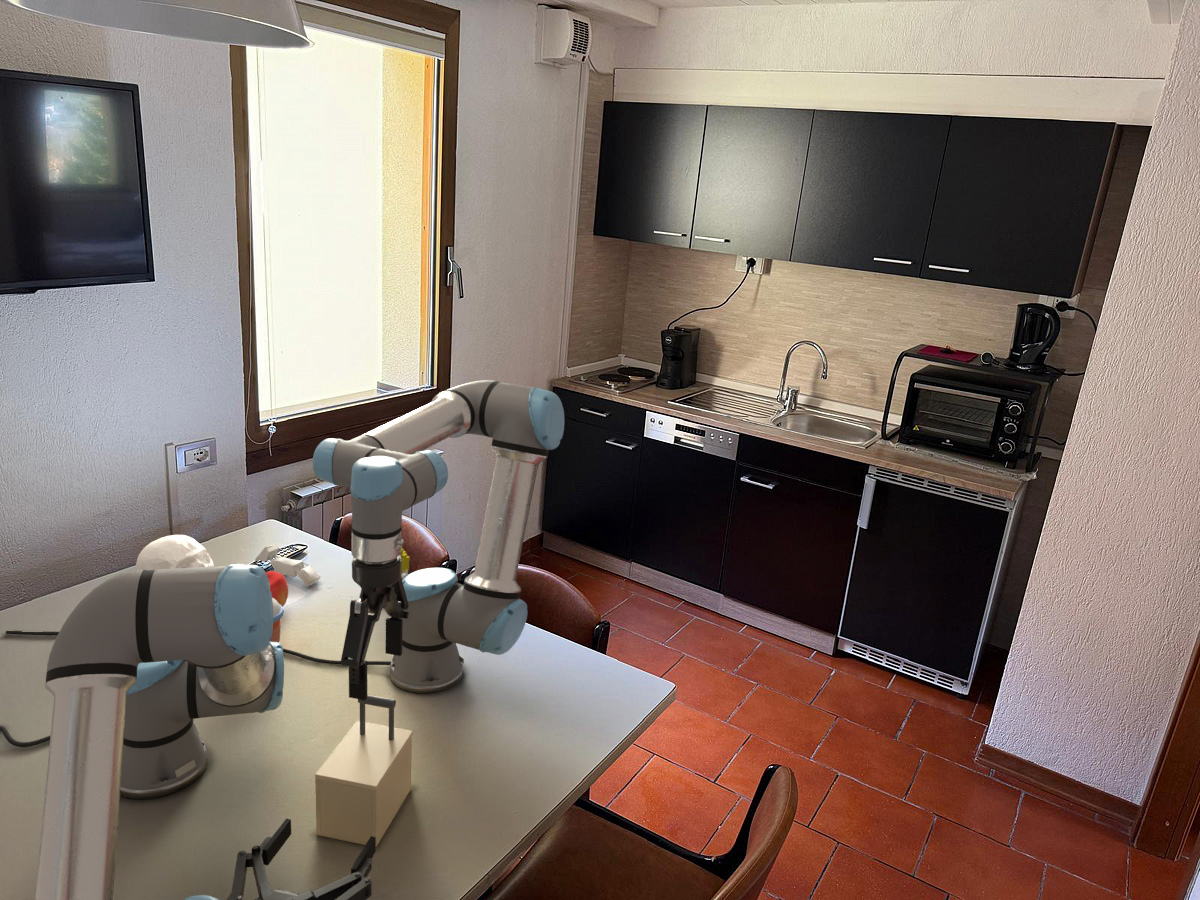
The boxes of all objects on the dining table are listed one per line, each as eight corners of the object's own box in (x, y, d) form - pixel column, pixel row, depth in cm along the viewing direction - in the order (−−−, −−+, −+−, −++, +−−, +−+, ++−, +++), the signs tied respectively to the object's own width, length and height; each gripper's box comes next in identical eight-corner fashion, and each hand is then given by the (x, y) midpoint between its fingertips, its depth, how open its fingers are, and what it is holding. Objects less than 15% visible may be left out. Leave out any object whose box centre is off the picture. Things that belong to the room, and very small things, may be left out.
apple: (273, 600, 207) (272, 562, 204) (297, 613, 202) (296, 575, 199) (237, 614, 200) (234, 575, 197) (261, 628, 194) (259, 588, 191)
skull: (201, 621, 195) (199, 557, 191) (123, 601, 201) (119, 539, 197) (241, 598, 208) (239, 537, 203) (167, 580, 213) (163, 521, 209)
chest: (356, 778, 150) (355, 726, 147) (411, 789, 148) (411, 736, 145) (316, 835, 136) (315, 778, 133) (376, 847, 135) (376, 791, 132)
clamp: (253, 565, 223) (254, 542, 221) (265, 560, 226) (266, 537, 224) (309, 593, 215) (310, 569, 213) (320, 588, 218) (321, 564, 216)
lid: (357, 724, 147) (356, 681, 145) (413, 734, 145) (413, 691, 143) (315, 778, 133) (313, 732, 131) (376, 790, 132) (376, 744, 129)
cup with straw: (270, 669, 179) (266, 592, 174) (230, 662, 181) (226, 585, 175) (293, 648, 188) (291, 573, 182) (255, 641, 189) (252, 567, 184)
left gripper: (163, 954, 111) (255, 839, 131) (342, 997, 107) (408, 872, 127) (159, 908, 109) (253, 798, 129) (341, 951, 105) (409, 830, 125)
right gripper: (364, 594, 121) (364, 722, 127) (429, 529, 144) (427, 640, 151) (314, 586, 122) (317, 714, 128) (387, 523, 145) (386, 634, 152)
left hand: (330, 834), depth 128 cm, fingers open, 13 cm apart
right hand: (376, 674), depth 139 cm, fingers open, 13 cm apart
